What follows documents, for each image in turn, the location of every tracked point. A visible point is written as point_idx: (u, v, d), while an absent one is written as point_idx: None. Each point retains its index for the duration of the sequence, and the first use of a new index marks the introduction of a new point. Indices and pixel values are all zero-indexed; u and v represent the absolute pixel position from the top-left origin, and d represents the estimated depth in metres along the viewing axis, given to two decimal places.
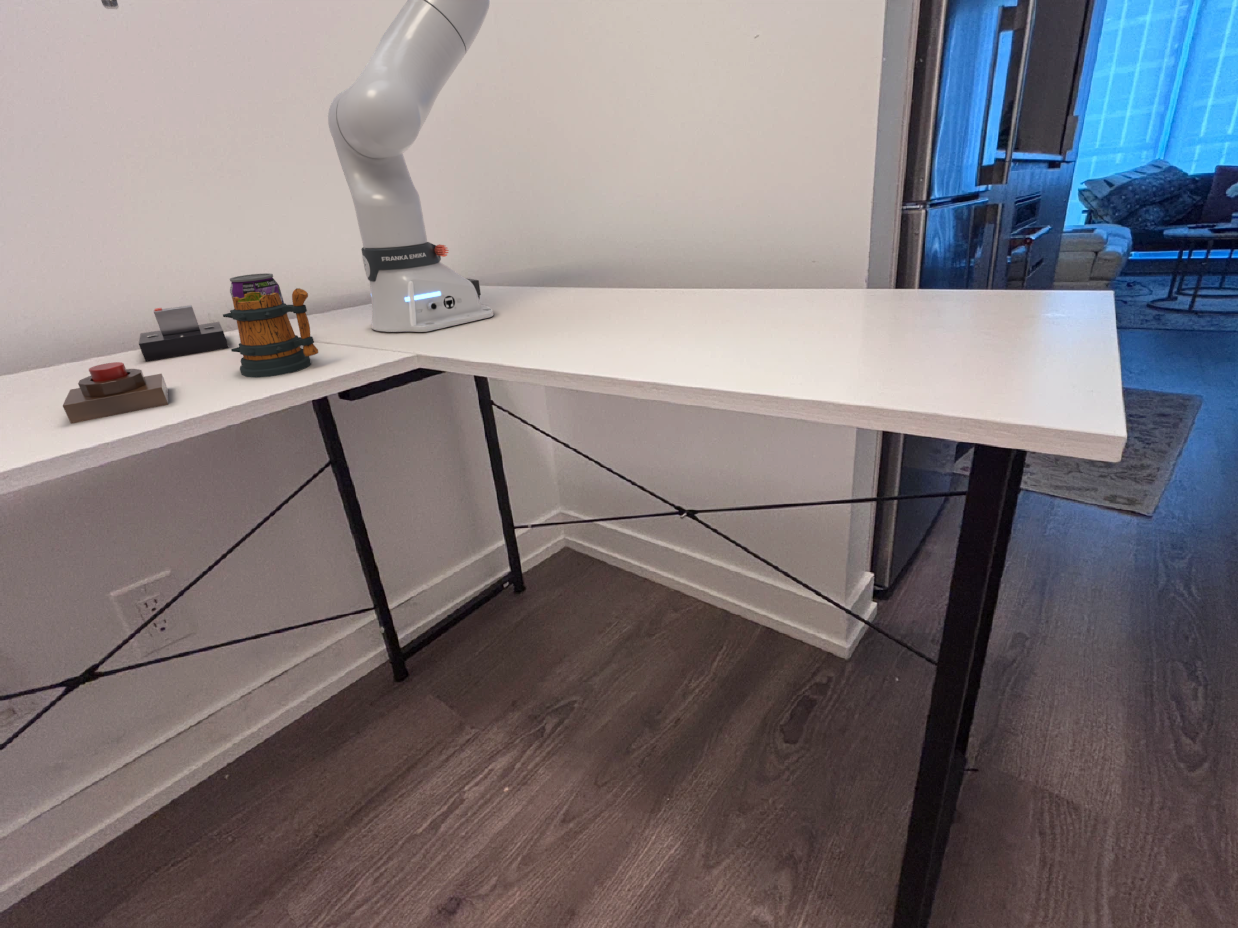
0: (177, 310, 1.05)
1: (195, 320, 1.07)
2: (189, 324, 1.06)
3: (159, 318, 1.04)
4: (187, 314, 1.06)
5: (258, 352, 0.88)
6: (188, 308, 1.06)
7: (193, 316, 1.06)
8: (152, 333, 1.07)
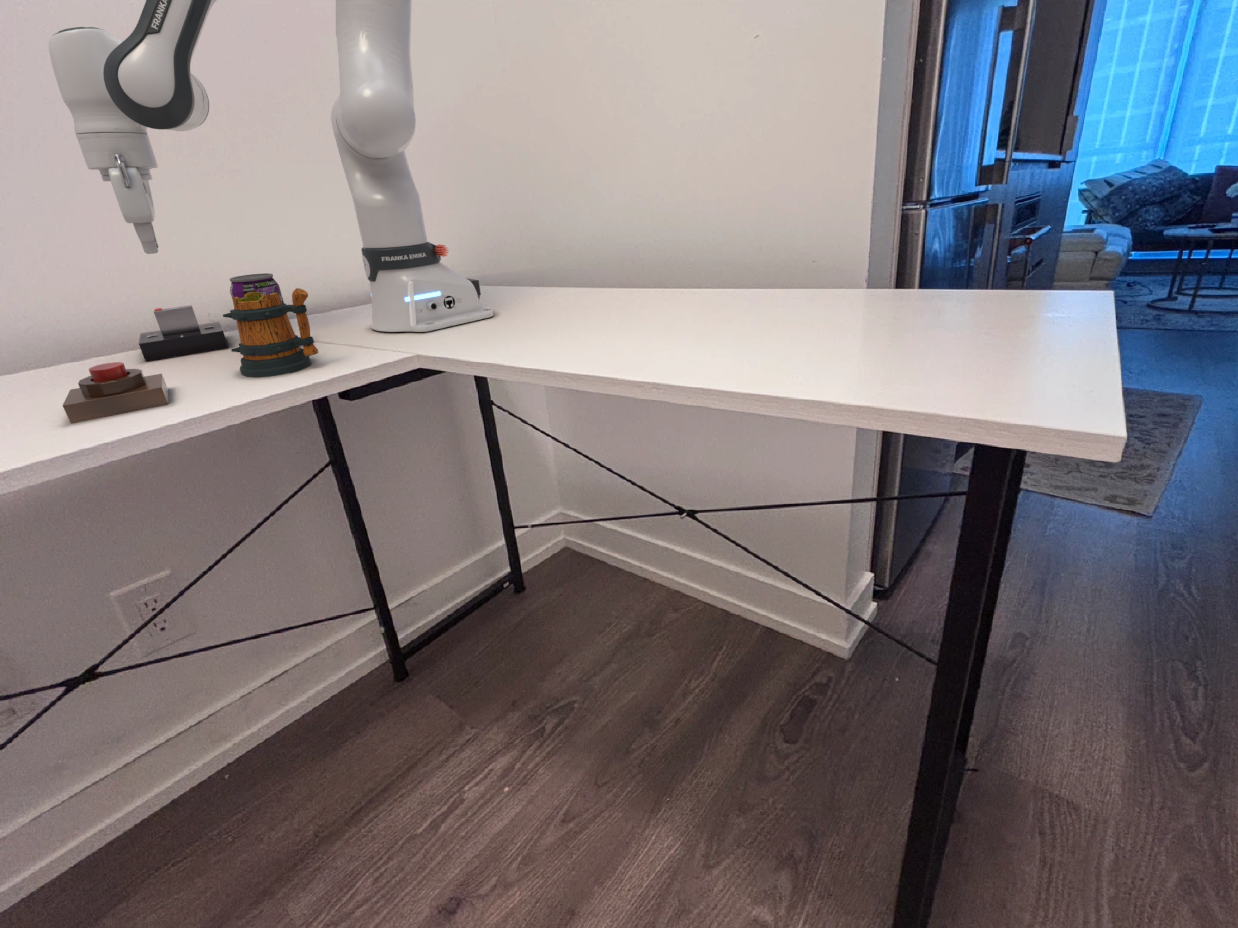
0: (177, 310, 1.05)
1: (195, 320, 1.07)
2: (189, 324, 1.06)
3: (159, 318, 1.04)
4: (187, 314, 1.06)
5: (258, 352, 0.88)
6: (188, 308, 1.06)
7: (193, 316, 1.06)
8: (152, 333, 1.07)
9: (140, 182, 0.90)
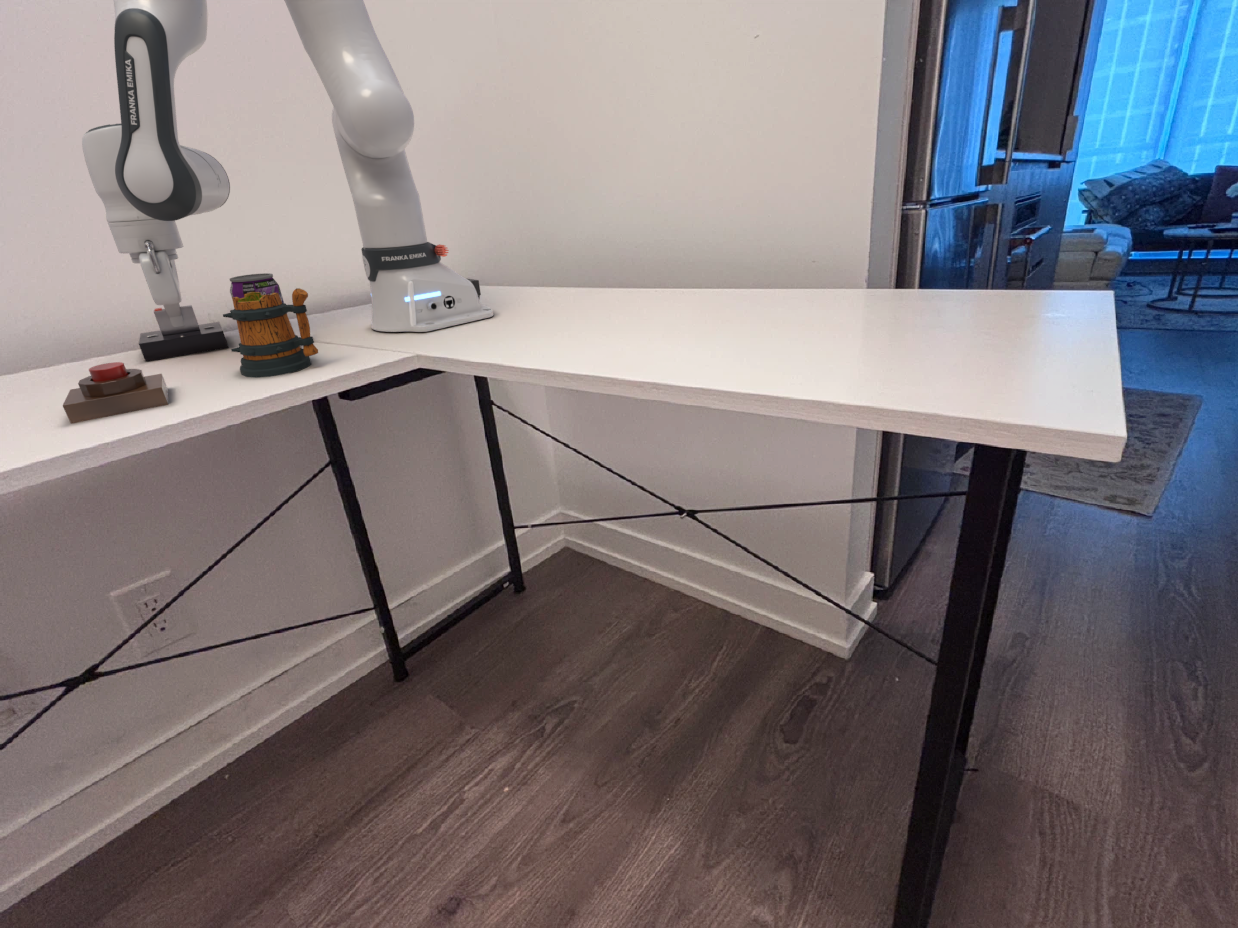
0: None
1: (195, 320, 1.07)
2: (189, 324, 1.06)
3: (159, 318, 1.04)
4: (187, 314, 1.06)
5: (258, 352, 0.88)
6: (188, 308, 1.06)
7: (193, 316, 1.06)
8: (152, 333, 1.07)
9: (169, 267, 0.96)
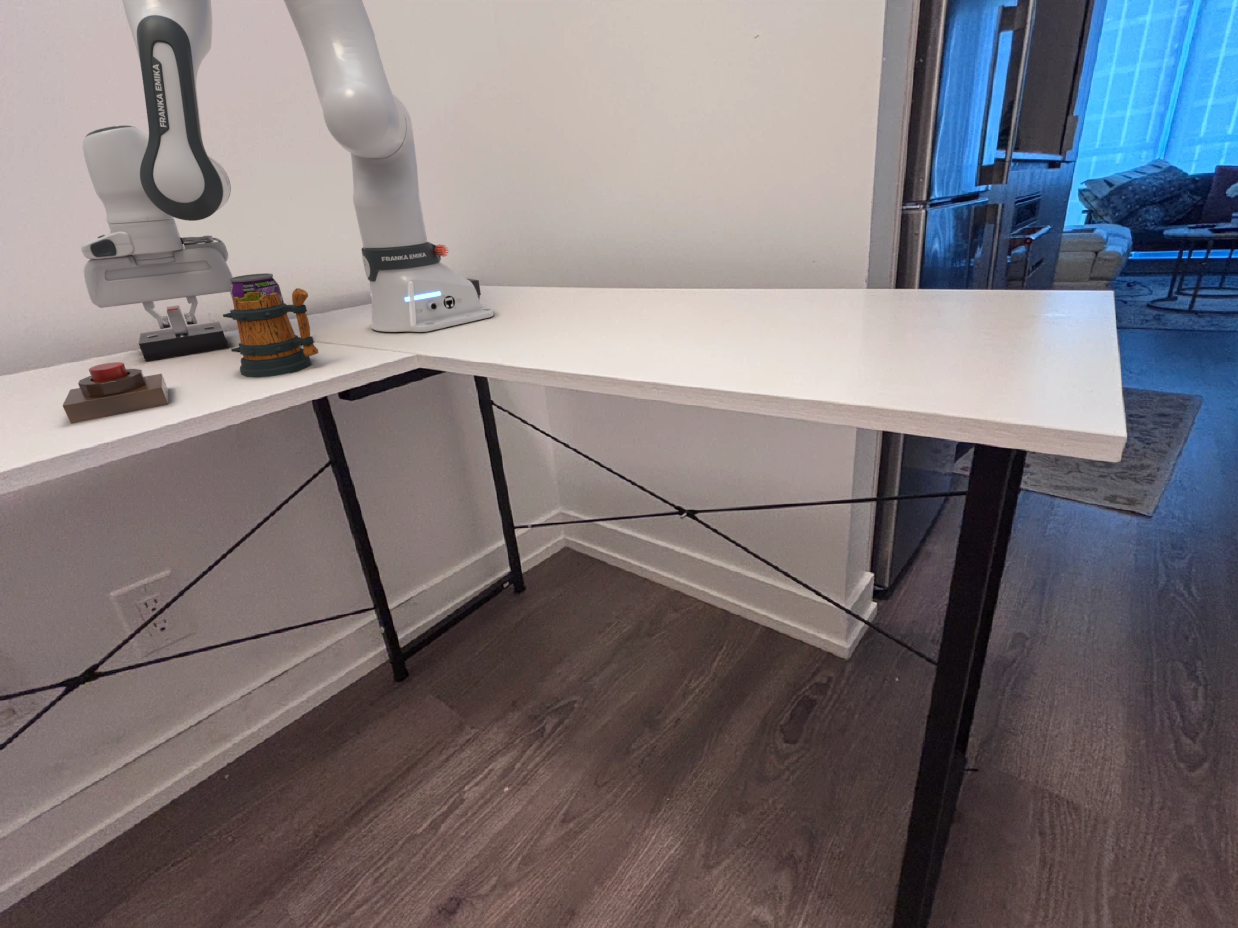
0: (179, 309, 1.06)
1: None
2: (184, 322, 1.08)
3: (181, 316, 1.04)
4: (181, 312, 1.07)
5: (258, 352, 0.88)
6: (179, 307, 1.07)
7: (182, 315, 1.08)
8: (152, 333, 1.07)
9: None
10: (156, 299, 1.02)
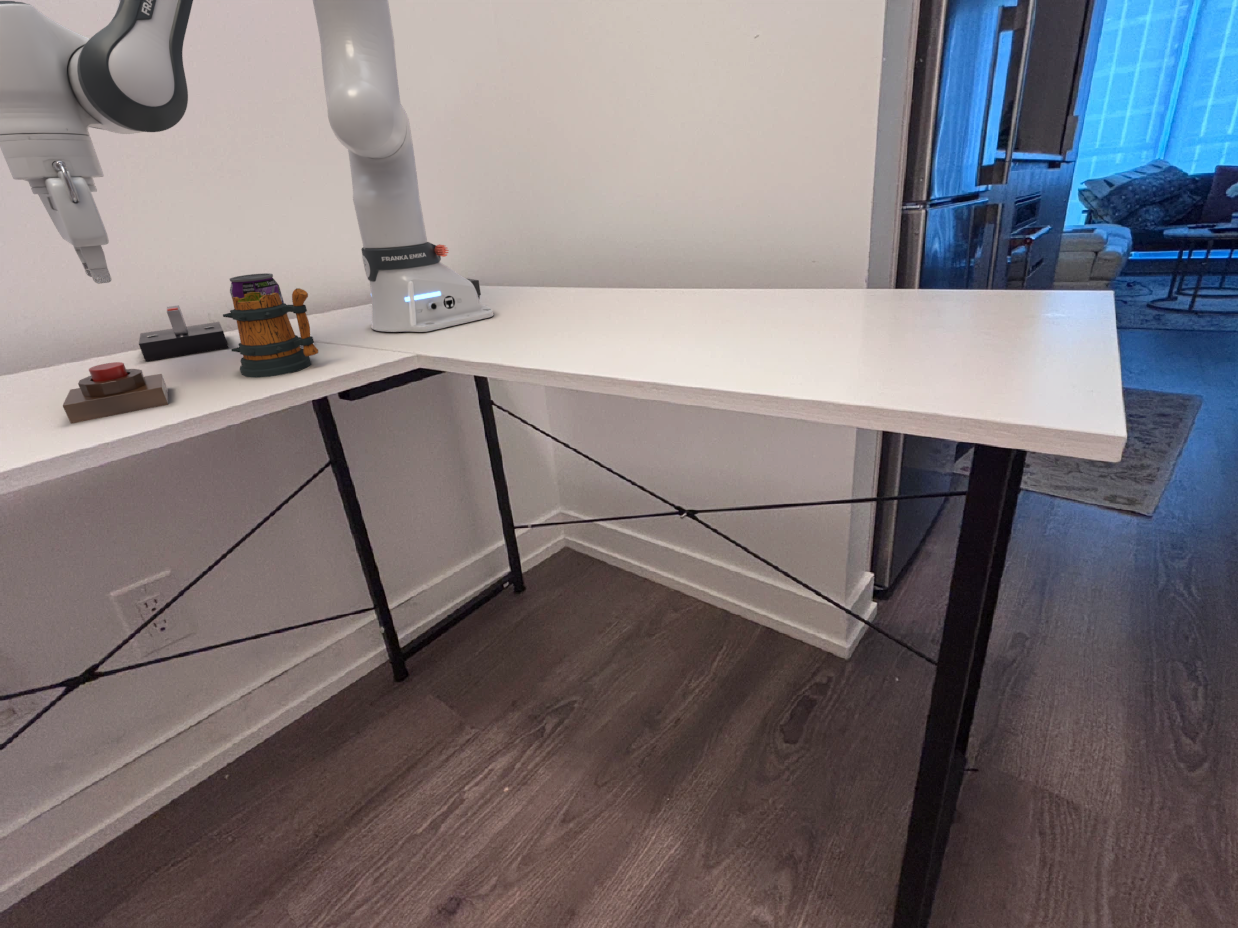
0: (179, 309, 1.06)
1: None
2: (184, 322, 1.08)
3: (181, 316, 1.04)
4: (181, 312, 1.07)
5: (258, 352, 0.88)
6: (179, 307, 1.07)
7: (182, 315, 1.08)
8: (152, 333, 1.07)
9: (91, 196, 0.72)
10: (66, 240, 0.80)
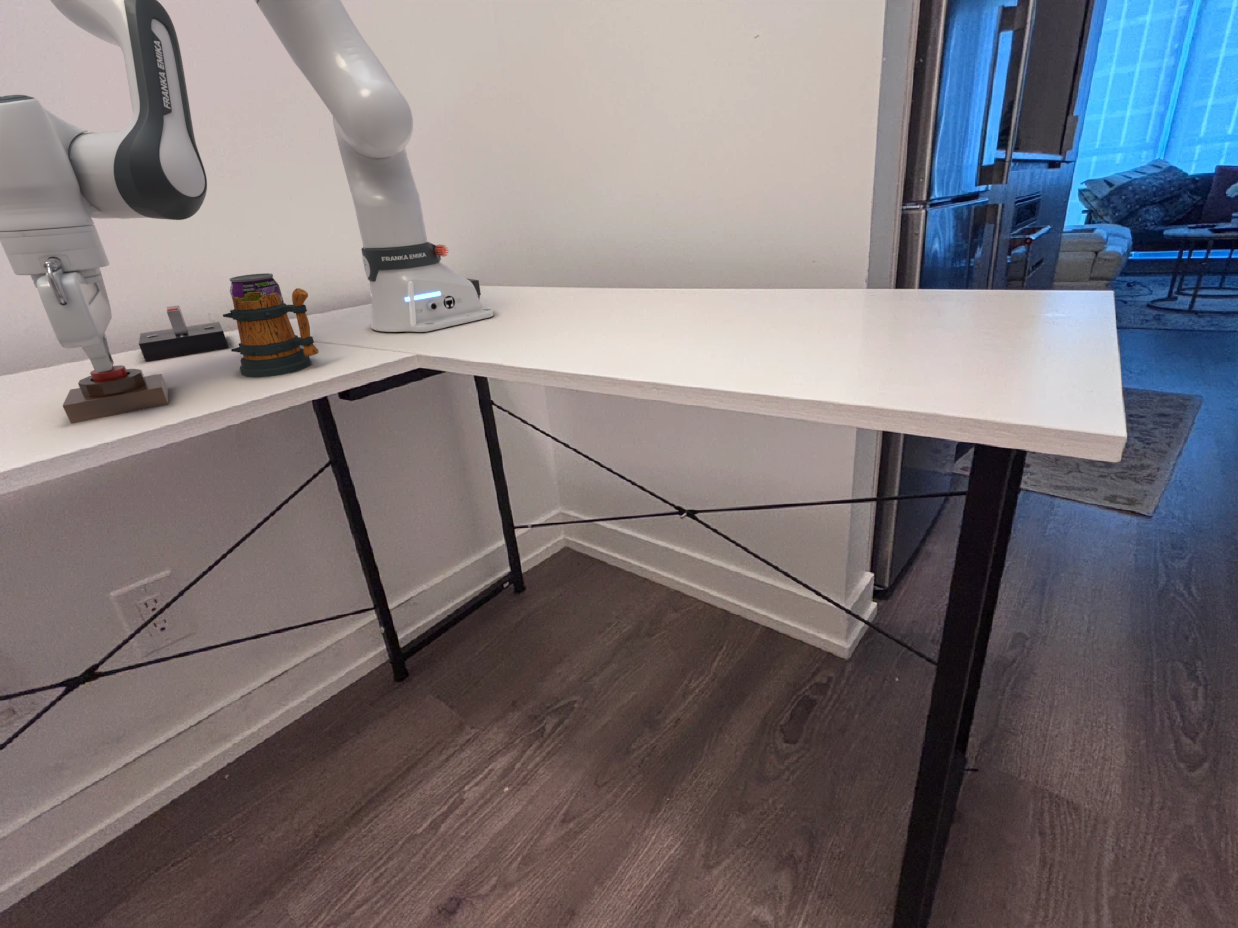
0: (179, 309, 1.06)
1: None
2: (184, 322, 1.08)
3: (181, 316, 1.04)
4: (181, 312, 1.07)
5: (258, 352, 0.88)
6: (179, 307, 1.07)
7: (182, 315, 1.08)
8: (152, 333, 1.07)
9: (80, 295, 0.68)
10: None
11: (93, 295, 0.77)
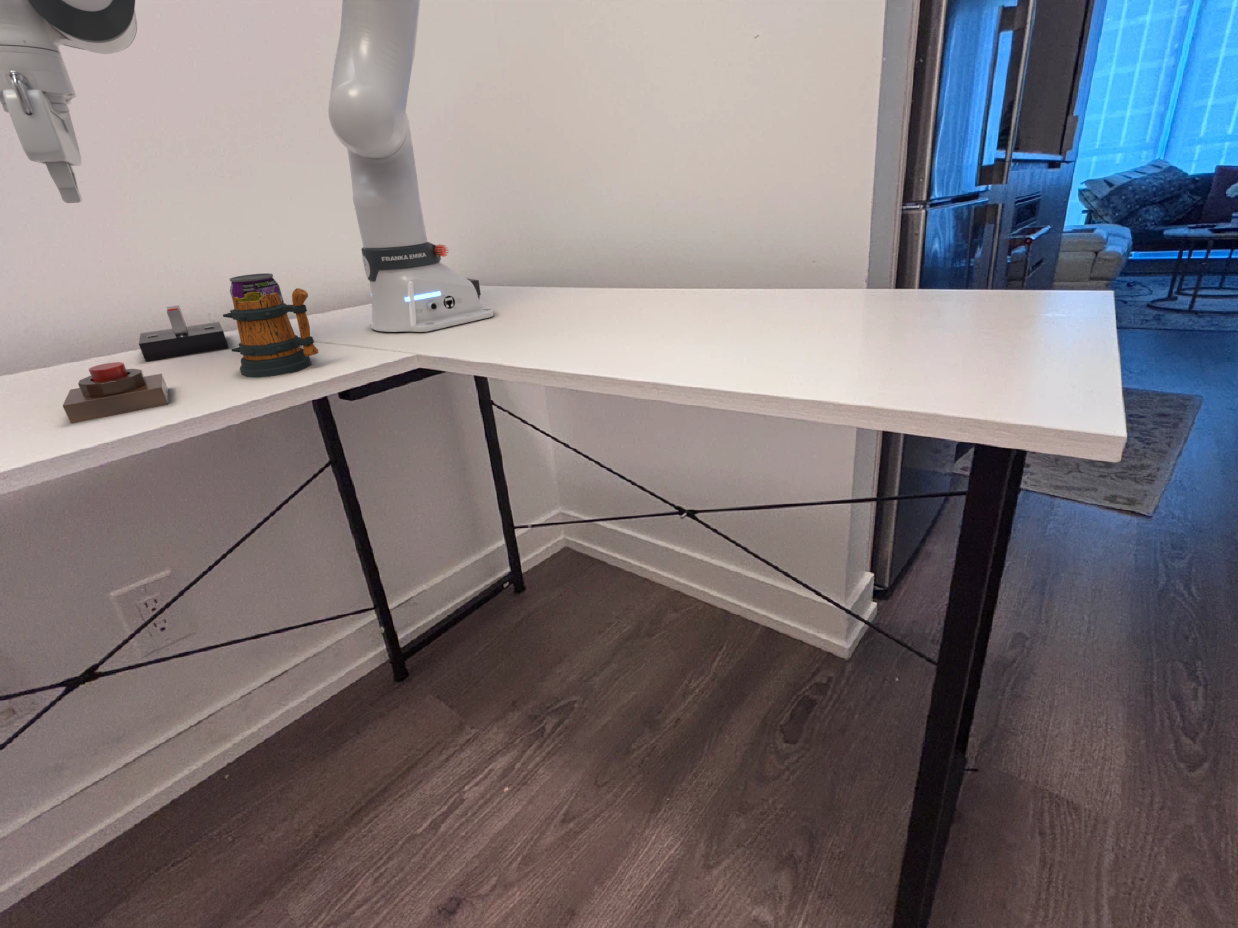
0: (179, 309, 1.06)
1: None
2: (184, 322, 1.08)
3: (181, 316, 1.04)
4: (181, 312, 1.07)
5: (258, 352, 0.88)
6: (179, 307, 1.07)
7: (182, 315, 1.08)
8: (152, 333, 1.07)
9: (45, 108, 0.71)
10: None
11: (61, 128, 0.80)
